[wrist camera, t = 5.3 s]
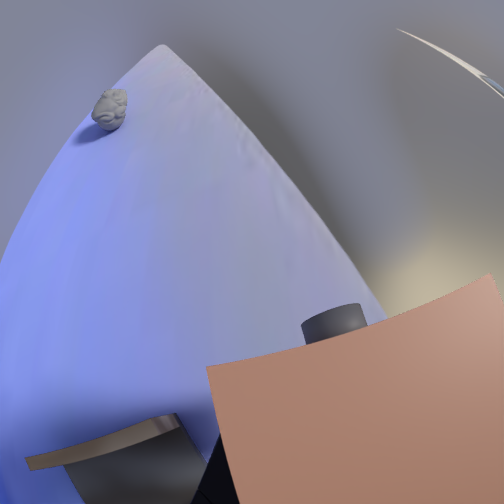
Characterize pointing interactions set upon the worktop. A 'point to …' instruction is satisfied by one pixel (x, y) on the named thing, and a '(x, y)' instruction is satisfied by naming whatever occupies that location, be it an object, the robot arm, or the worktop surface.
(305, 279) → the worktop surface
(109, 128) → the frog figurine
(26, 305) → the worktop surface
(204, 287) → the worktop surface
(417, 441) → the cabinet block
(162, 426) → the cleat board
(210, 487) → the robot arm
